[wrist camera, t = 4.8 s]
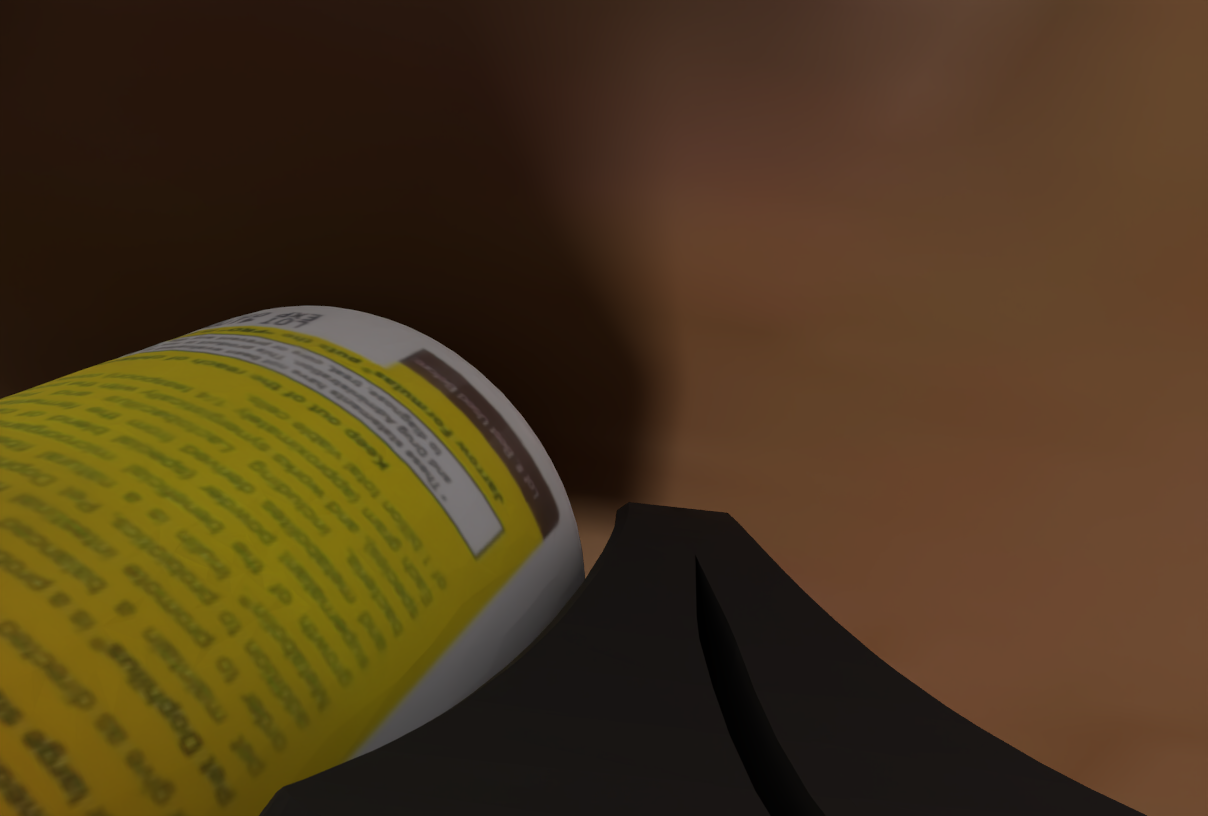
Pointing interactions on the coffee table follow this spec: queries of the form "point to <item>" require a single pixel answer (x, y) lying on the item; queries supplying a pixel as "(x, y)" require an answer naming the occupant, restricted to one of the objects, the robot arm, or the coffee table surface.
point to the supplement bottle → (259, 560)
